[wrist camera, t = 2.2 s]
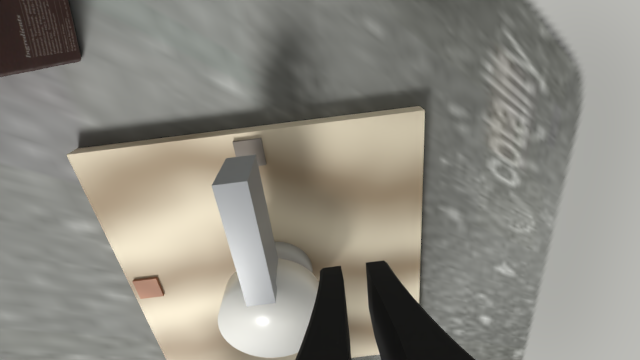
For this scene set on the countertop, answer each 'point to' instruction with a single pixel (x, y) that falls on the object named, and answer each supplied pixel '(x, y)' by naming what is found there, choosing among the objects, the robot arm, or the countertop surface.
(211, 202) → the post board
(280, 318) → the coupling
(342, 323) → the robot arm
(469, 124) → the countertop surface
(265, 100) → the countertop surface
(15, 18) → the box
